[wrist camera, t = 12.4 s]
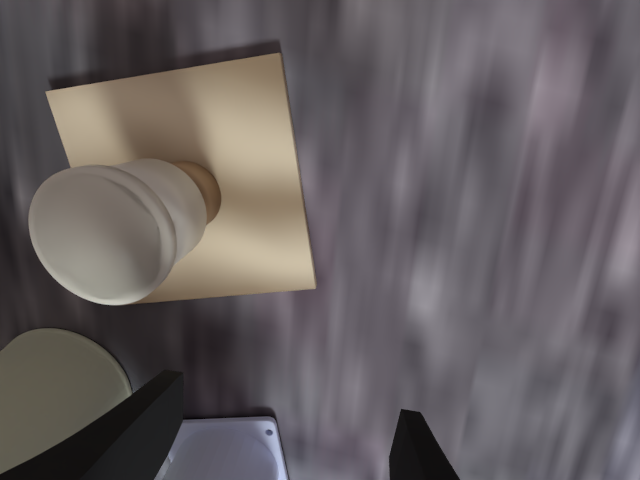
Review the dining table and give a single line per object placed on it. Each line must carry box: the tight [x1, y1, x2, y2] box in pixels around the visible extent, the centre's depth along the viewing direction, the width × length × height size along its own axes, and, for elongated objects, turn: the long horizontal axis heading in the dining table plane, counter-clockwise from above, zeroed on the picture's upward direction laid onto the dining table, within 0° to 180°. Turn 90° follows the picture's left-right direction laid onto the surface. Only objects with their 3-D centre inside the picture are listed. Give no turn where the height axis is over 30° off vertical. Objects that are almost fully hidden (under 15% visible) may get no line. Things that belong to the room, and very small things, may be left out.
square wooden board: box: [45, 53, 317, 305], centre depth 19 cm, size 12×12×4 cm
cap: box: [28, 158, 207, 305], centre depth 15 cm, size 5×5×4 cm
